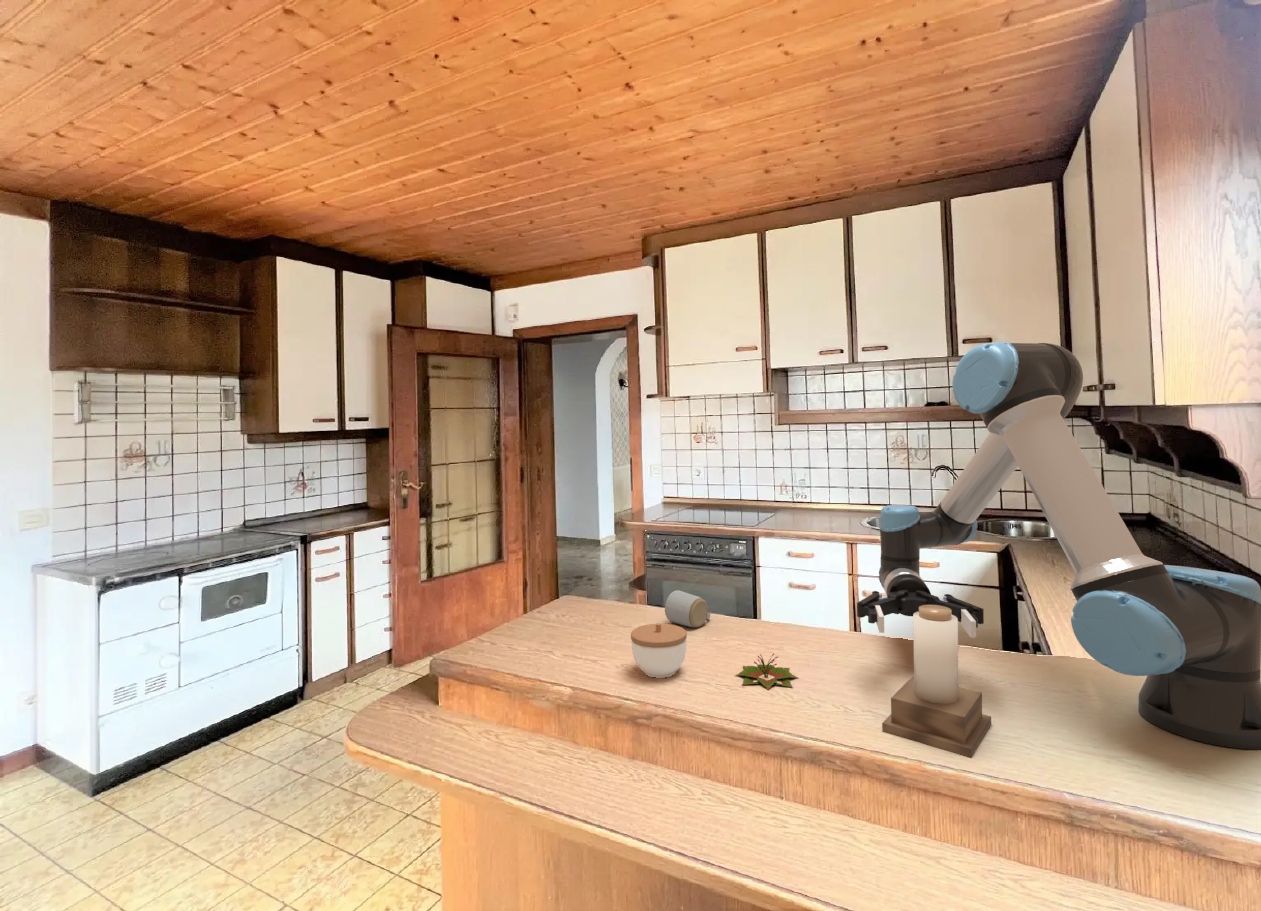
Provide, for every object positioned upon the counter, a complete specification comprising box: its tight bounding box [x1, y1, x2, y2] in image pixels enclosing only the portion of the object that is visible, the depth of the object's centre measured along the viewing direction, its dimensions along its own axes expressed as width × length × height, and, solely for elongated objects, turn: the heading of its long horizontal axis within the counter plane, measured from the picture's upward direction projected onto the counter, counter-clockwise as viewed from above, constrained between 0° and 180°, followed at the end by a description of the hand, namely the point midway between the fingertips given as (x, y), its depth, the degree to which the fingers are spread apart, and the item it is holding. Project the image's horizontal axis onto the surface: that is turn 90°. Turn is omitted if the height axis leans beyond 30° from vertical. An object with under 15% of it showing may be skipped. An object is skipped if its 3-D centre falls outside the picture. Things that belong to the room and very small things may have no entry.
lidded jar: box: [630, 622, 688, 679], centre depth 117 cm, size 11×11×9 cm
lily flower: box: [735, 653, 799, 691], centre depth 113 cm, size 12×12×5 cm
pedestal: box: [881, 675, 992, 758], centre depth 92 cm, size 12×12×5 cm
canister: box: [912, 605, 960, 704], centre depth 92 cm, size 6×6×13 cm
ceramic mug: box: [664, 590, 711, 629], centre depth 146 cm, size 11×8×8 cm
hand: (926, 627), depth 99 cm, fingers open, 13 cm apart
